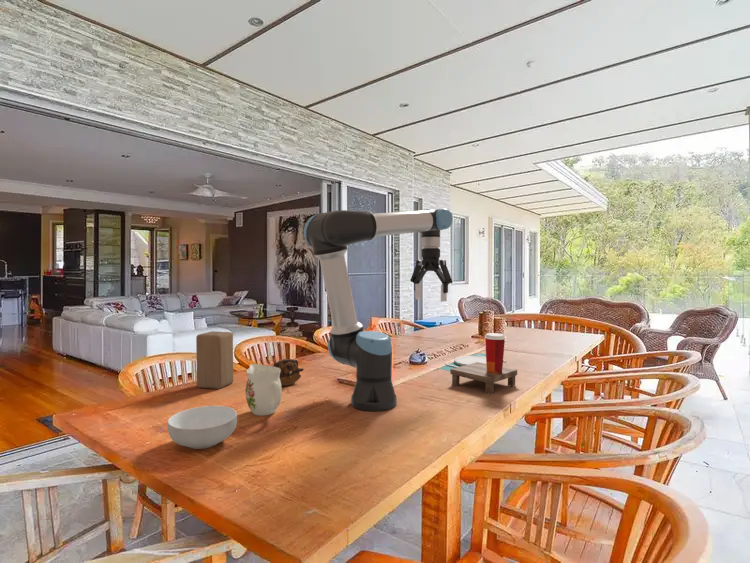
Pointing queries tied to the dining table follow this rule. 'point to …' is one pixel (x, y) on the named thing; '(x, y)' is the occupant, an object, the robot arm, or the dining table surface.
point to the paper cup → (494, 352)
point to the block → (214, 359)
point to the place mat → (465, 361)
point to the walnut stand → (482, 375)
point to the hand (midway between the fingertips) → (430, 300)
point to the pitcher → (263, 389)
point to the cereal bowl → (202, 426)
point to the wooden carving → (288, 371)
